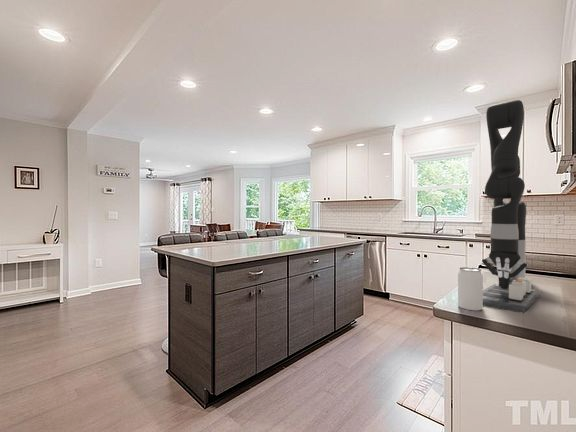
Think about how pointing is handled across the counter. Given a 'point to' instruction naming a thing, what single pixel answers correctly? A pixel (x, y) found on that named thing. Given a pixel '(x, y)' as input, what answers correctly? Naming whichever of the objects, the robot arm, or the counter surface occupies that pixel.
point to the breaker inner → (527, 283)
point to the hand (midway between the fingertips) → (504, 288)
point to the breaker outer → (515, 291)
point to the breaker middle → (521, 284)
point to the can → (470, 289)
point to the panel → (508, 299)
